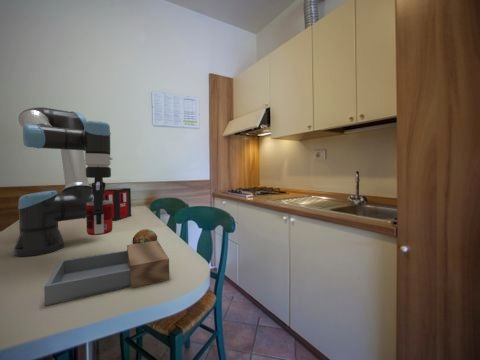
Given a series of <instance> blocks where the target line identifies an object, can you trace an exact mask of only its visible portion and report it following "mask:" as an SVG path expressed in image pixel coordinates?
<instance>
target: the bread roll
mask: <svg viewBox="0 0 480 360" xmlns="http://www.w3.org/2000/svg"><path fill="white" fill-rule="evenodd" d="M152 241H158V235H157V234H156V232H155V231H153V230H152V229H149V228H145V229H140V230H139V231H137V232H136V233H135V234H134V236H133V237H132V244H138V243H145V242H152Z"/></svg>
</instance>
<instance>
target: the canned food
mask: <svg viewBox="0 0 480 360" xmlns="http://www.w3.org/2000/svg"><path fill="white" fill-rule="evenodd" d="M93 211H94V201H90V202H87V203H86V218H85V220H86V233H87V235H88V236H101V235H106V234H109V233H111V232H112V231H113V221H112V201H109V200H104V201H103V214H104V233H100V234H94V215H92V213H93Z"/></svg>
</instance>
